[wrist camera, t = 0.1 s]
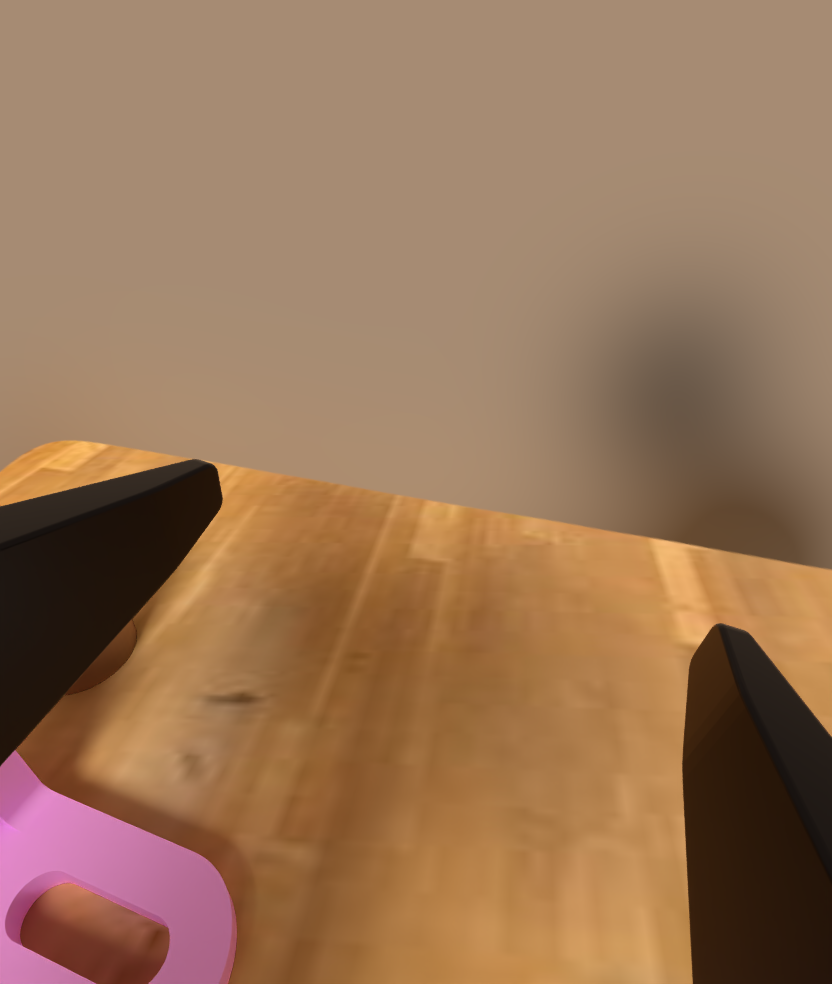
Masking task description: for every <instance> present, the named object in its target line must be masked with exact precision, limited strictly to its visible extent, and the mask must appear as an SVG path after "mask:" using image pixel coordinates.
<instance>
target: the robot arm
mask: <svg viewBox="0 0 832 984" xmlns="http://www.w3.org/2000/svg"><path fill="white" fill-rule="evenodd" d="M222 500H223V498H222V492H221V486H220V481H219V476H218V471H217V468H216V467H215V466H214V465H213V464H211V463H208V462H205V461H201V460H197V459H192V460H188V461H184V462H180V463H175V464H171V465H167V466H163V467H159V468H155V469H151V470H147V471H143V472H139V473H135V474H131V475H127V476H123V477H119V478H114V479H110V480H106V481H102V482H98V483H94V484H90V485H86V486H82V487H78V488H74V489H70V490H66V491H62V492H57V493H53V494H49V495H45V496H41V497H37V498H33V499H29V500H25V501H21V502H17V503H13V504H9V505H5V506H1V507H0V766H1V765H2V764H3V763H4V762H5V761H6V760H7V759H8V757H9V756H10V755H11V754H12V753H13V752H14V751H15V750H16V748H17V747H18V746H19V745H20V744H21V743H22V742H23V741H24V740H25V738H26V737H27V736H28V735H29V734H30V733H31V732H32V731H33V729H34V728H35V727H36V726H37V725H38V724H39V723H40V722H41V720H42V719H43V718H44V717H45V716H46V715H47V714H48V713H49V712H50V710H51V709H52V708H53V707H54V706H55V705H56V704H57V703H58V701H59V700H60V699H61V698H62V697H63V696H64V695H65V694H66V692H67V691H68V690H69V689H70V688H71V687H72V686H73V685H74V683H75V682H76V681H77V680H78V679H79V678H80V677H81V676H82V675H83V673H84V672H85V671H86V670H87V669H88V668H89V667H90V666H91V664H92V663H93V662H94V661H95V660H96V659H97V658H98V657H99V655H100V654H101V653H102V652H103V651H104V650H105V649H106V648H107V647H108V645H109V644H110V643H111V642H112V641H113V640H114V639H115V638H116V636H117V635H118V634H119V633H120V632H121V631H122V630H123V629H124V627H125V626H126V625H127V624H128V623H129V622H130V621H131V620H132V619H133V617H134V616H135V615H136V614H137V613H138V612H139V611H140V610H141V608H142V607H143V606H144V605H145V604H146V603H147V602H148V601H149V599H150V598H151V597H152V596H153V595H154V594H155V593H156V592H157V590H158V589H159V588H160V587H161V586H162V585H163V584H164V583H165V582H166V580H167V579H168V578H169V577H170V576H171V575H172V573H173V572H174V571H175V570H176V569H177V567H178V566H179V565H180V563H181V562H182V561H183V560H184V558H185V557H186V555H187V554H188V553H189V551H190V550H191V549H192V547H193V546H194V544H195V543H196V542H197V540H198V539H199V538H200V536H201V535H202V533H203V532H204V531H205V529H206V528H207V527H208V525H209V524H210V522H211V521H212V520H213V518H214V517H215V516H216V514H217V513H218V511H219V510H220V508H221V505H222ZM682 773H683V797H684V818H685V838H686V858H687V878H688V898H689V918H690V938H691V958H692V978H693V984H832V737H831V736H830V734H829V733H828V732H827V730H826V729H825V728H824V727H823V725H822V724H821V723H820V722H819V720H818V719H817V718H816V717H815V715H814V714H813V713H812V712H811V710H810V709H809V708H808V706H807V705H806V704H805V703H804V701H803V700H802V699H801V698H800V696H799V695H798V694H797V693H796V691H795V690H794V689H793V687H792V686H791V685H790V684H789V682H788V681H787V680H786V679H785V677H784V676H783V675H782V674H781V672H780V671H779V670H778V669H777V667H776V666H775V665H774V663H773V662H772V661H771V660H770V658H769V657H768V656H767V655H766V653H765V652H764V651H763V650H762V648H761V647H760V646H759V644H758V643H757V642H756V641H755V639H754V638H753V637H752V636H751V635H750V634H749V633H748V632H746V631H744V630H741V629H738V628H735V627H732V626H729V625H725V624H721V623H720V624H716V625H714V626H713V627H712V628H711V630H710V631H709V633H708V634H707V636H706V637H705V639H704V640H703V642H702V643H701V644H700V646H699V647H698V649H697V650H696V652H695V653H694V655H693V657H692V659H691V662H690V667H689V676H688V689H687V703H686V716H685V729H684V742H683V760H682Z"/></svg>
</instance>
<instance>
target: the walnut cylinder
mask: <svg viewBox="0 0 832 984" xmlns="http://www.w3.org/2000/svg"><path fill="white" fill-rule="evenodd" d="M136 639H137V632H136V628H135V625H134V623H133V620H131V621H130V622H129V623H128V624H127V625H126V626H125V627H124V629H123V630H122V631H121V632H120V633H119V634H118V635H117V636H116V638H115V639H114V640H113V641H112V642H111V643H110V644H109V645H108V647H107V648H106V649H105V650H104V651H103V652H102V653H101V654H100V655H99V657H98V658H97V659H96V660H95V661H94V662H93V663H92V664H91V666H90V667H89V668H88V669H87V670H86V671H85V672H84V673H83V675H82V676H81V677H80V678H79V679H78V680H77V681H76V682H75V683H74V685H73V686H72V687H71V688H70V689H69V690H68V691H67V692H66V694H65V695H70V694H74V693H78V692H81V691H84V690H87V689H89V688H91V687H93V686H95V685H97V684H99V683H101V682H103V681H104V680H106V679H107V678H109V677H110V676H111V675H113V674H114V673H115V672H116V671H117V670H119V669H120V668H121V667H122V666H123V664H124V663H125V662H126V661H127V660H128V658H129V657H130V655H131V653H132V652H133V650H134V647H135V644H136Z"/></svg>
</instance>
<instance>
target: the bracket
mask: <svg viewBox="0 0 832 984" xmlns="http://www.w3.org/2000/svg"><path fill="white" fill-rule="evenodd" d="M63 883H73V884H76V885H78V886H80V887H82V888H85V889H87V890H89V891H91V892H93V893H95V894H97V895H100V896H102V897H104V898H106V899H108V900H110V901H112V902H114V903H117V904H119V905H121V906H123V907H125V908H127V909H129V910H132V911H134V912H136V913H138V914H140V915H142V916H144V917H146V918H149V919H151V920H153V921H155V922H157V923H159V924H161V925H164V926H166V927H168V929H169V933H170V945H169V950H168V954H167V957H166V959H165V962H164V964H163V966H162V967H161V969H160V971H159V972H158V973H157V975H156V976H155V977H154V978H153V979H152V981H151V982H150V983H148V984H228V982H229V979H230V975H231V972H232V968H233V963H234V958H235V952H236V944H237V924H236V915H235V910H234V906H233V902H232V899H231V897H230V894H229V892H228V890H227V887H226V885H225V883H224V881H223V879H222V877H221V875H220V873H219V872H218V871H217V869H216V868H215V867H214V866H213V865H212V864H211V863H210V862H209V861H208V860H207V859H206V858H204V857H203V856H201V855H199V854H197V853H195V852H193V851H191V850H189V849H186V848H184V847H182V846H179V845H177V844H175V843H172V842H170V841H168V840H165V839H163V838H161V837H158V836H156V835H154V834H151V833H149V832H147V831H145V830H142V829H140V828H138V827H135V826H133V825H131V824H128V823H126V822H124V821H121V820H119V819H117V818H114V817H112V816H110V815H107V814H105V813H103V812H100V811H98V810H96V809H93V808H91V807H89V806H86V805H84V804H82V803H79V802H77V801H75V800H73V799H70V798H68V797H66V796H63V795H61V794H59V793H56V792H54V791H52V790H51V789H49V788H48V787H46V786H45V785H44V784H42V783H41V781H40V780H39V779H38V778H37V776H36V775H35V774H34V773H33V771H32V770H31V769H30V768H29V766H28V765H27V764H26V763H25V761H24V760H23V759H22V758H21V756H20V755H19V754H18V753H17V752H16V750H15V751H14V752H13V753H12V754H11V755H10V756H9V757H8V759H7V760H6V761H5V762H4V763H3V764H2V765H1V766H0V984H96V983H94V982H92V981H90V980H88V979H86V978H84V977H82V976H80V975H78V974H76V973H74V972H72V971H70V970H68V969H67V968H65V967H63V966H61V965H59V964H57V963H55V962H53V961H51V960H49V959H47V958H45V957H43V956H41V955H39V954H37V953H35V952H33V951H31V950H29V949H27V948H25V947H23V945H22V943H21V939H20V930H21V926H22V922H23V920H24V917H25V915H26V914H27V912H28V910H29V909H30V907H31V906H32V904H33V903H34V902H35V901H36V900H37V899H38V898H39V897H40V896H41V895H42V894H43V893H45V892H46V891H47V890H49V889H51V888H52V887H54V886H57V885H59V884H63Z"/></svg>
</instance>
